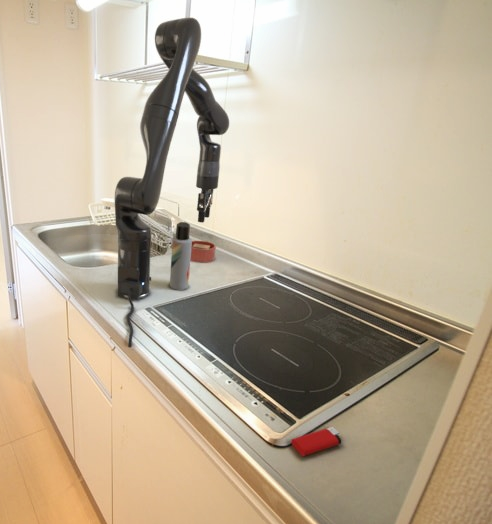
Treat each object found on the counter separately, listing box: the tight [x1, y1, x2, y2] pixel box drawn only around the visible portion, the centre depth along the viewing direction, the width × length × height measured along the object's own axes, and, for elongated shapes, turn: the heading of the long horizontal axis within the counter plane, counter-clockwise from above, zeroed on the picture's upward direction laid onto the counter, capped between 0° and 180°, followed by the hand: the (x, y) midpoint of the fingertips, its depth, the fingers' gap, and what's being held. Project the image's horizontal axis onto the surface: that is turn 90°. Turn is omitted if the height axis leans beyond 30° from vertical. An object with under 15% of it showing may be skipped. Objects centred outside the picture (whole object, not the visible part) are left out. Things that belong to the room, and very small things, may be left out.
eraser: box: [192, 244, 210, 249], centre depth 136 cm, size 6×4×4 cm, turn 68°
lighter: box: [291, 426, 342, 457], centre depth 57 cm, size 3×1×8 cm
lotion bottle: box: [169, 221, 193, 291], centre depth 108 cm, size 6×6×20 cm
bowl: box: [190, 240, 217, 263], centre depth 136 cm, size 11×11×5 cm
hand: (203, 219), depth 132 cm, fingers open, 8 cm apart
